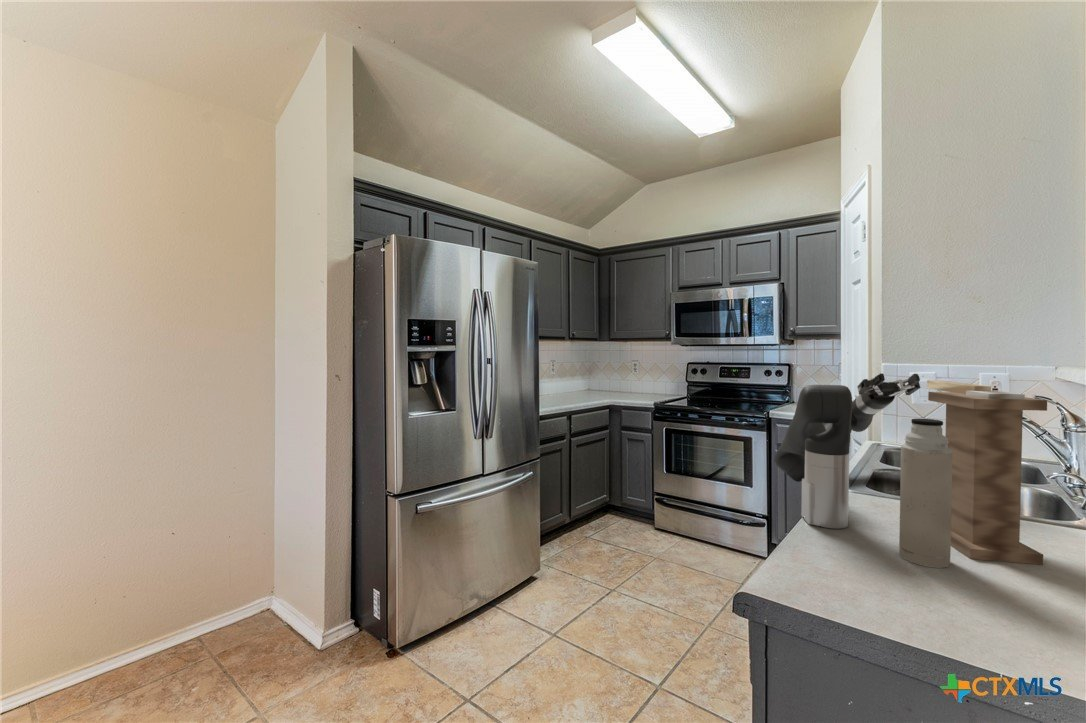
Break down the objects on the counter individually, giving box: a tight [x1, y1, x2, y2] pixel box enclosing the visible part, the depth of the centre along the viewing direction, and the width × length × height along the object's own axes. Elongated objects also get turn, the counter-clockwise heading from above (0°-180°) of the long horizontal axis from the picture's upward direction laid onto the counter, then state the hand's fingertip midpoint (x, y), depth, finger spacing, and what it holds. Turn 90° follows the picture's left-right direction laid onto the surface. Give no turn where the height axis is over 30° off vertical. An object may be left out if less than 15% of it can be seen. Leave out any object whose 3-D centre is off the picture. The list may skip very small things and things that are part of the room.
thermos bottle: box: [898, 418, 953, 569], centre depth 95 cm, size 8×8×28 cm
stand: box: [927, 391, 1048, 566], centre depth 102 cm, size 12×16×32 cm
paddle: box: [926, 379, 1026, 399], centre depth 106 cm, size 6×25×2 cm, turn 167°
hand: (899, 376), depth 133 cm, fingers open, 8 cm apart
